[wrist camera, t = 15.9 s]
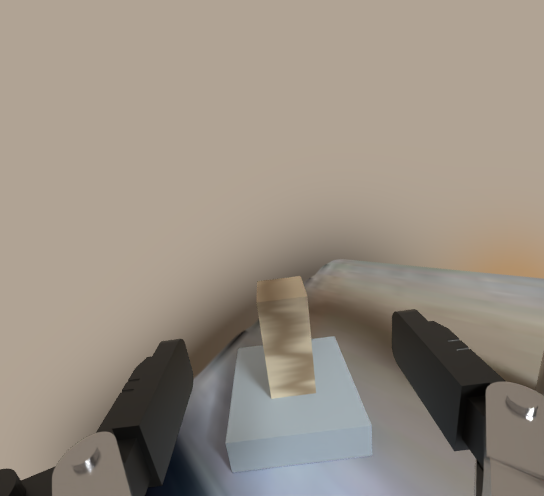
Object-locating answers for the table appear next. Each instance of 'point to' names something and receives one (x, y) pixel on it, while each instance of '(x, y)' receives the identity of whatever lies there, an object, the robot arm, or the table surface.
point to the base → (295, 414)
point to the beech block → (286, 336)
